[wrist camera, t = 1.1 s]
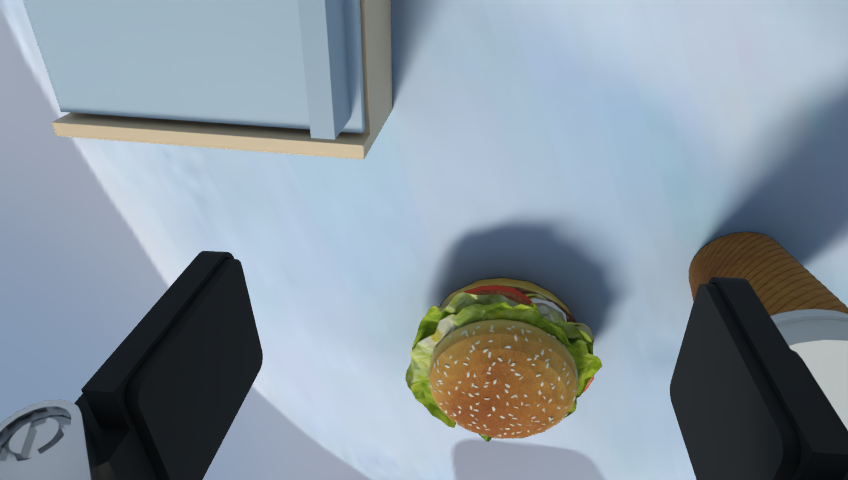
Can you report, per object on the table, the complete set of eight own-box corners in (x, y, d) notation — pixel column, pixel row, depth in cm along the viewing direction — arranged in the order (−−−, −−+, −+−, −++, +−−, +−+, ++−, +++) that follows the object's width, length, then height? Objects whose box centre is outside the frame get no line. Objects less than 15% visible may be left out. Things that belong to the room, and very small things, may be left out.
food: (480, 226, 40) (473, 293, 34) (624, 324, 43) (644, 404, 37) (382, 334, 47) (360, 407, 41) (512, 412, 50) (510, 492, 44)
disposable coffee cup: (687, 202, 37) (749, 320, 27) (838, 219, 36) (960, 347, 26) (648, 312, 42) (688, 445, 32) (780, 329, 41) (863, 471, 31)
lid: (-5, -108, 27) (-72, -107, 24) (355, -99, 25) (332, -97, 22) (68, 108, 32) (21, 131, 29) (364, 129, 30) (347, 156, 27)
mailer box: (76, -134, 32) (-43, -139, 25) (389, -128, 30) (350, -133, 23) (136, 92, 39) (56, 135, 32) (392, 109, 37) (363, 159, 30)
